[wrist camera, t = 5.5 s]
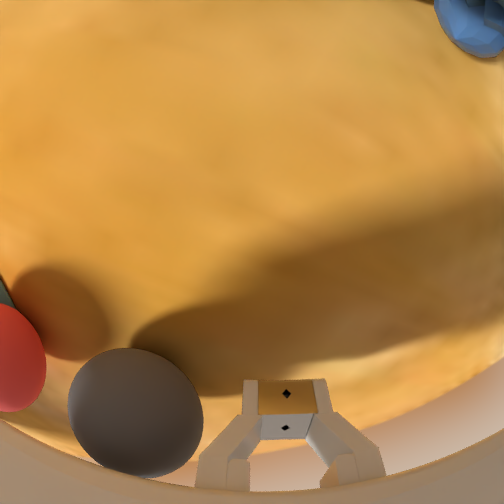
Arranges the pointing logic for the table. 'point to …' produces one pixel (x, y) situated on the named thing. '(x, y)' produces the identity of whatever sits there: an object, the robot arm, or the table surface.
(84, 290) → the table surface
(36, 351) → the ball
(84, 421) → the ball
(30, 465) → the robot arm
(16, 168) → the table surface
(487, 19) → the grapes
